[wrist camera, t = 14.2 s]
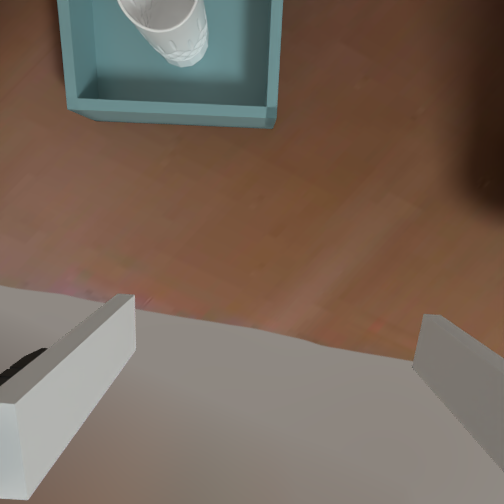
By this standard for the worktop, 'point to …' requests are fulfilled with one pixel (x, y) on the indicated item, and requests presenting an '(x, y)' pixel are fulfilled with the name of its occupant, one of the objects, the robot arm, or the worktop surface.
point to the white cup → (171, 27)
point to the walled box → (173, 67)
